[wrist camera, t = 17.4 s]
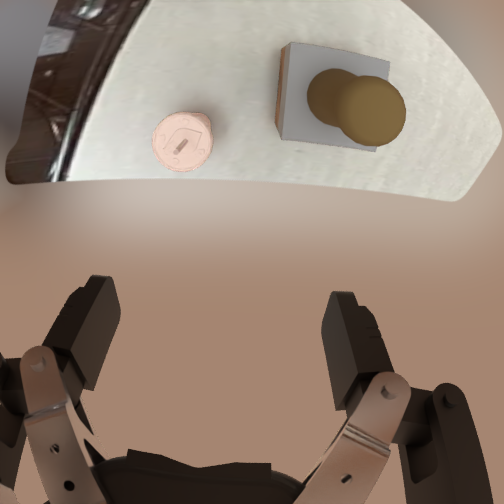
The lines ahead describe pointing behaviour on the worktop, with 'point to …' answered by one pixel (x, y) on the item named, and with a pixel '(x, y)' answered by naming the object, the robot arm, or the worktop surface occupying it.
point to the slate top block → (296, 85)
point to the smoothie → (183, 141)
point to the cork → (357, 106)
